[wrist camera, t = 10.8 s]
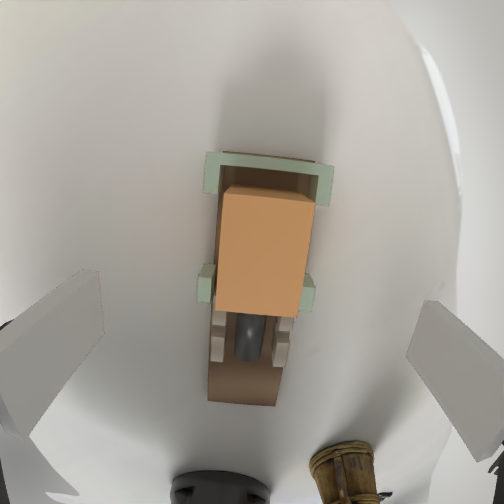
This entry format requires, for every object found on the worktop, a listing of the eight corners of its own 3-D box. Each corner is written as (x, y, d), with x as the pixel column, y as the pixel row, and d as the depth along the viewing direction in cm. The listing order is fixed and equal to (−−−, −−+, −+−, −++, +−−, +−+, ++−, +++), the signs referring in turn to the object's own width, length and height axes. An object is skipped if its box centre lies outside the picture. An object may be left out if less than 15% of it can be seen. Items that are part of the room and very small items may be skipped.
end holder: (305, 295, 26) (311, 312, 23) (202, 286, 26) (196, 301, 23) (324, 165, 23) (334, 166, 20) (212, 152, 23) (206, 151, 20)
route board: (274, 399, 31) (276, 428, 27) (208, 394, 30) (203, 422, 26) (312, 161, 24) (323, 161, 20) (224, 151, 24) (218, 149, 20)
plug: (275, 348, 27) (280, 399, 21) (220, 343, 27) (211, 394, 21) (298, 191, 24) (315, 203, 17) (232, 183, 23) (223, 193, 17)
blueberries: (361, 488, 39) (362, 497, 37) (404, 480, 38) (406, 488, 36) (355, 503, 41) (356, 511, 39) (395, 496, 40) (397, 503, 38)
